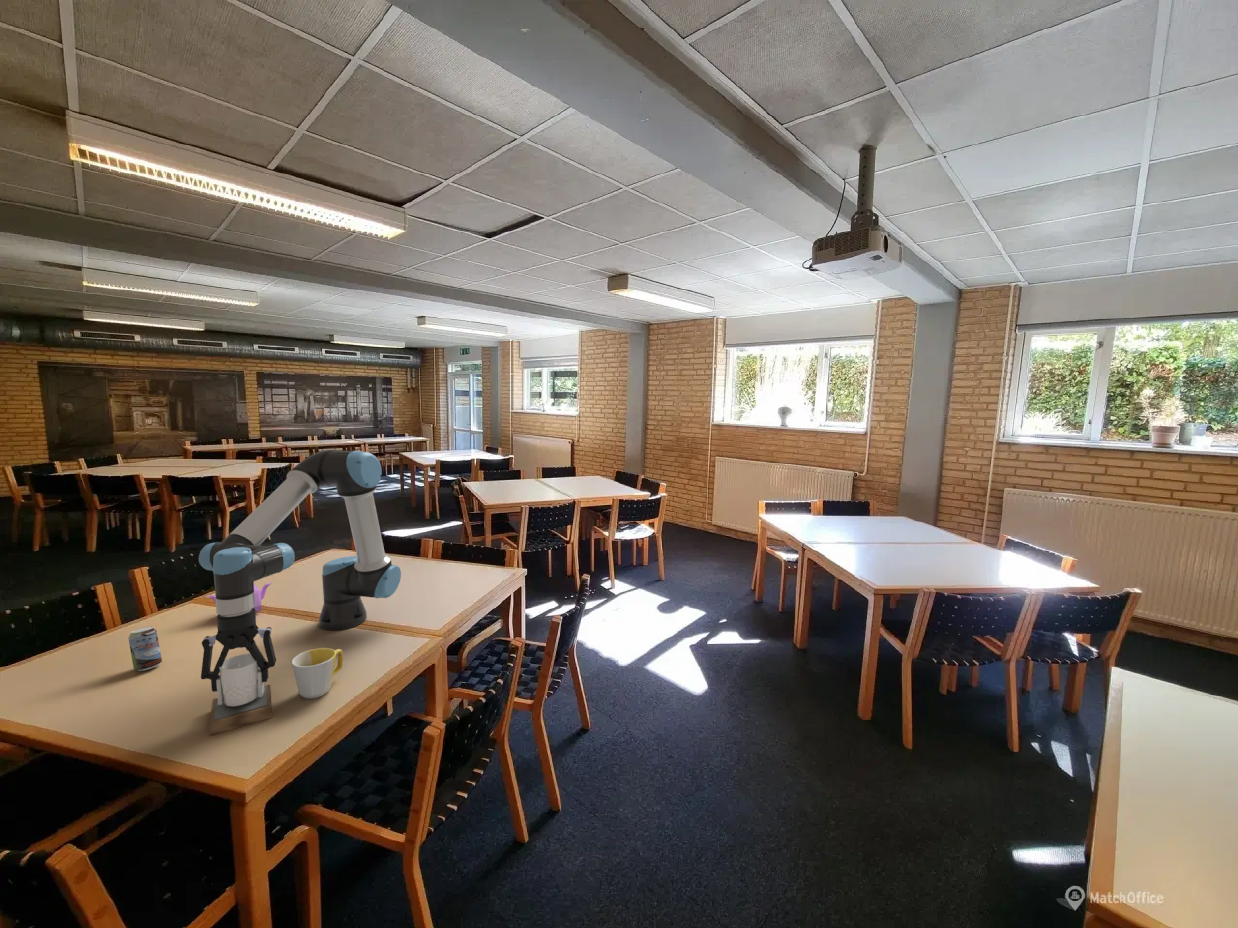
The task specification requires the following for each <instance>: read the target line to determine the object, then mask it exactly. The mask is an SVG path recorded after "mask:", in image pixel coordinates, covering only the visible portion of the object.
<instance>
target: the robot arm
mask: <svg viewBox="0 0 1238 928" xmlns="http://www.w3.org/2000/svg"><path fill="white" fill-rule="evenodd" d="M382 471H383V470H382V466H381V463H380V461H379V460H378V457H376V455H374V454H372V453H371V452H369V451H362V450H361V451H360V450H334V449H324V450H321V451H318V452H316V453H313V454H311V455H309V456H307V457H305V459H303V460H302V461H299V463H297V464H296V465H295V466H294V467H293V468H291V470H289V471H288V472H287V474H286V479H285V480H284V481H283V482H282V483H281V484H280V485H279V486H277V488H276V489H275V490H274V491H273V492H272V493H270V495H268V497H266V499H264V501H262V503H260V504H259V505H258V506H257V507H256V508H255V509H254V510H253V511H252V512H251V513H250V514H249V515H248V516H247V517H246V518H245V519H244V520H243V521H241V523H240V524H238V526H236V527H235V528H234V530H233V531H231V532H230V533H229V534H228V536H226V537H225V538H224V539H223V540H222V541H221V542H220V541H217V542H212V543H211V542H210V543H207V544H206V545H204V546H203V547H202V549H201V550H200V552H199V555H198V562H199V563H198V564H199V565H200V566H201V567H202V568H203V569H204V570H206V571H212V573H213V581H214V592H215V594H214V595H215V596H216V604H215V608H216V609H215V610H216V611H215V613H216V614H217V616H216V624H217V632H216V634H215V635H212V636H211V635H210V636H209V635H207V636H205V637H204V638H203V640H202V641H201V646H202V648H203V653H202V654H203V656H202V664H201V671H200V672H201V673H200V679H201V680H210V685H211V691H212V692H213V693H215V692H217V693H216V694H217V695H216V696H217V697H216V698H218V705H222V703H223V701H224V694H223V691H222V685H221V677H220V669H219V667H222V665H223V663H224V661H225V660H226V658H227V656H228V654H229V651H230V650H235V649H237V648H238V649H239V648H240V649H243V648H245V649H246V651H248V652H249V653H248V654H251V656H252V657H253V659H254V660H255V661H257V665H258V667H259V671H258V672H257V678H258V695H259V697H262V696H263V693H264V686H265V683H267V682H268V679H269V669H270V668H274V667H275V665H276V662H277V658H276V653H275V649H274V645H273V641H272V637H271V635H272V627H270V626H267V627H266V628H259V626H258V625H257V619H256V616H257V615H256V614H255V612H256V611H255V609H254V606H255V599H254V584H255V582H256V581H259V580H261V579H264V578H267V577H269V576H273V575H274V574H279V573H282V572H283V571H284V570H285V571H286V570H287V569H290V567H292V565H293V564H294V563H295V560H296V558H295V551H294V549H293V547H292V546H290V545H289V544H288V543H285V542H278V543H273V544H270V545H267V546H266V545H265V546H264V545H262V543H263V542H265V540H267V538H268V537H269V536H270V535H271V534H272V533H273V532H274V531H275V530H276V529H277V528H278V526H280V525H281V523H282V522H284V520H285V519H286V518H287V517H288V516H289V515H290V514H291V513H292V512H293V511H294V510H295V509H296V508H297V507H298V506H299V505H300V504H301V503H302V502H303V501H304V499H305V498H306V497H307V496H309V494H310V495H311V494H314V493H316V492H317V491H318V490H319V489H320V488H321V487H325V486H333V487H334V486H335V487H336V491H337V495H338V496H339V497H341V498H342V499H344V504H345V507H346V513H347V517H348V521H349V525H350V531H351V535H352V540H353V545H354V550H355V553H356V556H355V555H354V556H352V555H351V556H344V557H340V558H339V557H338V558H335V559H332V560H330V561H328V562H326V563H325V564H323V566H322V575H321V578H322V590H323V591H322V593H323V606H322V609H321V612H320V615H319V618H318V626H319V628H320V629H321V630H326V631H341V630H346V629H351V628H354V627H355V626H356V627H357V626H359V625H361V624H362V623H364V622H365V621H366V620H367V618H368V617H367V615H368V614H367V610H366V607H365V606H364V603H363V600H362V598H361V597H364V598H365V597H366V598H374V599H388V598H390V597H391V596H392V595H393V594H394V593H396V591H397V589H398V587H399V585H400V582H401V577H402V570H401V567H399V566H398V565H397V564H392V559H391V556H390V555H389V554H387V553H386V552H385V549H384V542H383V538H382V534H381V533H382V532H381V529H380V523H379V518H378V512H377V507H376V503H375V497H374V492H375V491H376V489H377V486H378V484H379V483H380V481H381V480H382V477H381V476H382V474H383V472H382ZM363 621H364V622H363ZM257 635H259V637H260V638H261V639H262V643H263V648H264V651H265V655H266V658H265V657H264V655H263V653H262V652H261V650H260V649H259V647H258V645H257V643H256V641H255V637H256V636H257ZM216 641H217V642H218V643H219V644H221V645H222V646H223V647H222V649H221V652H220V655H219V657H218V659H217V662H216V664H215V665H214V669H213V671H212V670H211V667H212V665H211V664H212V657H213V650H214V646H215V643H216Z"/></svg>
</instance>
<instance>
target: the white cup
mask: <svg viewBox="0 0 1238 928" xmlns="http://www.w3.org/2000/svg"><path fill="white" fill-rule="evenodd" d="M219 669H220V673H219V675H220V677H221V685H222V691H223V694H224V703H225V704H226V705H227V706H240V705H243V704H246V703H249V702H250V701H252V700H254V699H255V698H256V697H257V696H258V678H257V672H258V671H259V667H258V665H257V661H255V660H254V659H253V657H252V656H251V654H250V653H243V654H242V653H241V654H238V655H234V656H232V657H229V658H227V659H225V661H224V663H223V665H222V667H219Z"/></svg>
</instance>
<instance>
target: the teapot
mask: <svg viewBox="0 0 1238 928" xmlns="http://www.w3.org/2000/svg"><path fill="white" fill-rule="evenodd" d="M272 584H273V582H268V583H266V584H264V585H263V586H262V588H261V589H260V588H259V586H257V585H256V584H255V583H254V599H255V606H254V609H255V615H257V613H256V612H258V611H263V609H262V600H263V599H264V598H265V595H266V592H267V589H268V587H269V586H271V585H272ZM205 597H206V598H210V599H212V600H213V602H214V604H215V605H216V596H215V594H212V595H211V594H210V595H205Z"/></svg>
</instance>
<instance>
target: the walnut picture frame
mask: <svg viewBox="0 0 1238 928" xmlns="http://www.w3.org/2000/svg"><path fill="white" fill-rule="evenodd" d="M210 709H211V711H210V716H209V718H210V719H209V732H210V733H209V734H210V736H213V735H217V734H220V733H223V732H228V731H231V730H234V729H238V728H241V727H244V726H245V727H246V726H248V725H251V724H255V723H258V722H262V721H265V720H269V719H272V718H273V703H272V687H271V684H267V685H266V684H265V685H264V693H263V696H262V697H259V695H258V696H257V697H256V698H255V699H254V700H252V701H250V702H249V703H246V704H243V705H240V706H227V705H226V704H225V703H224V701H223V703H222V705H218V697H216V698H213V699H212V703H211V708H210Z"/></svg>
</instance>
